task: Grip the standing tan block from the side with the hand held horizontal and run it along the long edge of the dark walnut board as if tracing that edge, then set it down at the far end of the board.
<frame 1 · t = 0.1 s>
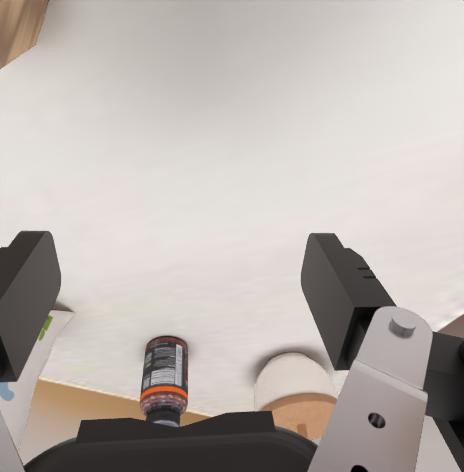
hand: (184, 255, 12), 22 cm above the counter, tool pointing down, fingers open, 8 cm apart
supplement bottle: (167, 346, 52), on the counter
lidded bowl: (287, 364, 58), on the counter
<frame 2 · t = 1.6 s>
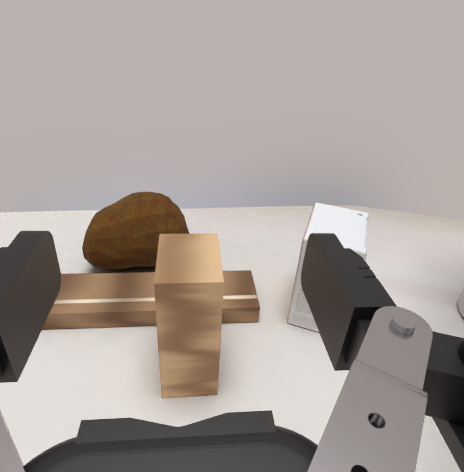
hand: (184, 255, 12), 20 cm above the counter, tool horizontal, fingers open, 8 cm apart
small box: (317, 308, 40), on the counter
tan block: (189, 366, 33), on the counter
walnut board: (131, 305, 39), on the counter
potato: (140, 259, 46), on the counter
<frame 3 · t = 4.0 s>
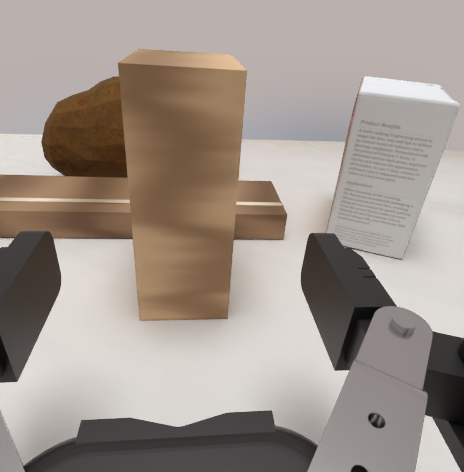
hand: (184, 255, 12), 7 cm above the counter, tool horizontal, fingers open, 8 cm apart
small box: (363, 229, 29), on the counter
tan block: (184, 283, 22), on the counter
walnut board: (106, 217, 28), on the counter
potato: (124, 177, 35), on the counter
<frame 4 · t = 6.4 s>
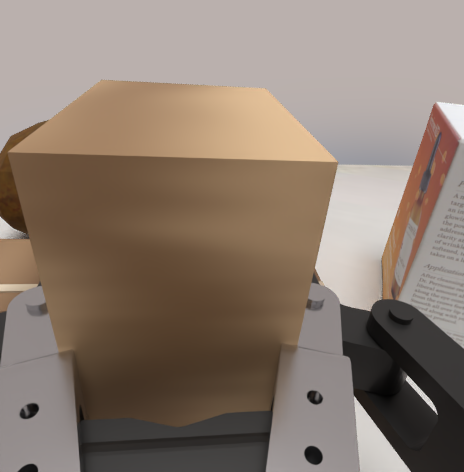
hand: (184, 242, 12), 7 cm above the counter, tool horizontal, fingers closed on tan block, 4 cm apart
small box: (429, 309, 21), on the counter
tan block: (185, 439, 14), on the counter, touching gripper
walnut board: (75, 299, 20), on the counter
potato: (107, 225, 27), on the counter
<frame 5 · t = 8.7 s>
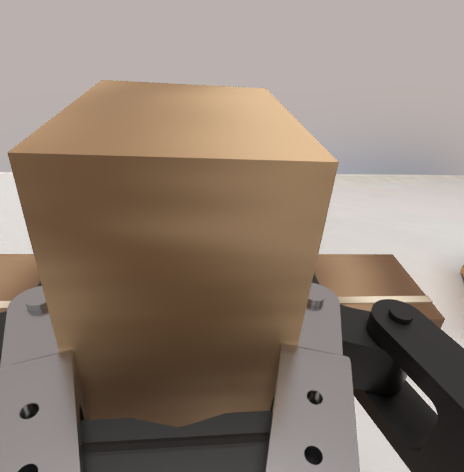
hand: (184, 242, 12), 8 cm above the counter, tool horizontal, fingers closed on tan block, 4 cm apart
tan block: (185, 439, 14), point 1 cm above the counter, touching gripper
walnut board: (196, 311, 22), on the counter
when the fingers open (8 cm above the counter, at t = 11.1 s): tan block stays where it is, on the counter.
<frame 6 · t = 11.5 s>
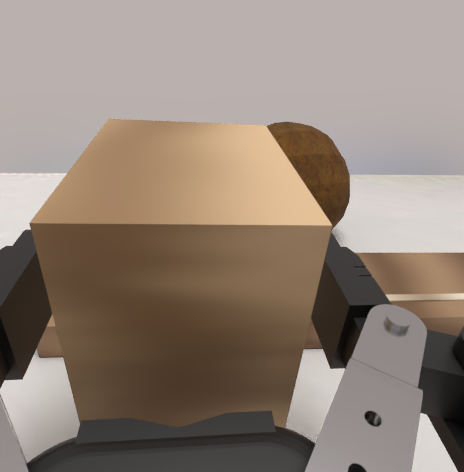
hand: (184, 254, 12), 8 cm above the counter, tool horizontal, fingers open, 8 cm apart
tan block: (187, 456, 14), on the counter
walnut board: (288, 309, 22), on the counter
potato: (263, 237, 29), on the counter
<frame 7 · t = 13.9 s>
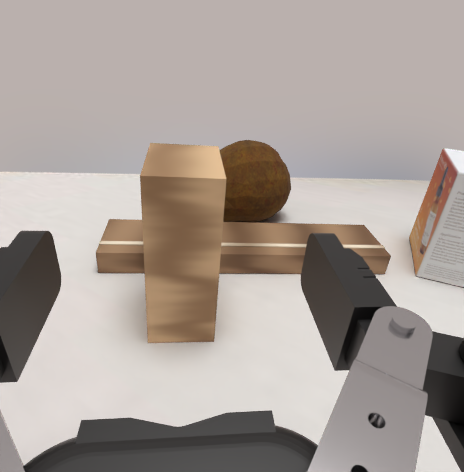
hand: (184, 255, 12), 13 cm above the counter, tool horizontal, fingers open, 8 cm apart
small box: (439, 264, 37), on the counter
tan block: (181, 312, 28), on the counter
walnut board: (244, 255, 36), on the counter
potato: (234, 216, 43), on the counter
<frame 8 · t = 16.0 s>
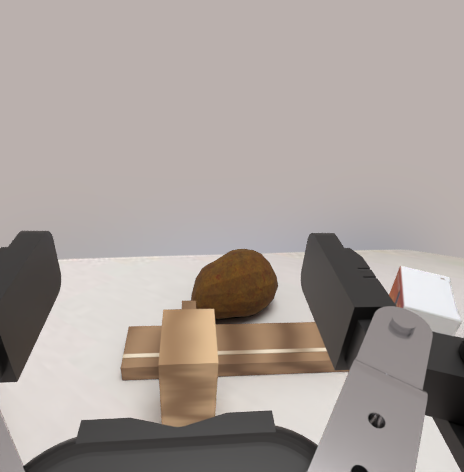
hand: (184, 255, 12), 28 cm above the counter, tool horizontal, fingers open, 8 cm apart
small box: (398, 356, 46), on the counter
tan block: (188, 421, 36), on the counter
walnut board: (238, 354, 44), on the counter
potato: (231, 306, 51), on the counter
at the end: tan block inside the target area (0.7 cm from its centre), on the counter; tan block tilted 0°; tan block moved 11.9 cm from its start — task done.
